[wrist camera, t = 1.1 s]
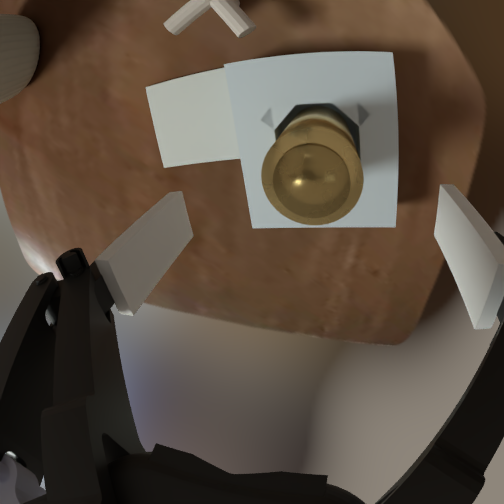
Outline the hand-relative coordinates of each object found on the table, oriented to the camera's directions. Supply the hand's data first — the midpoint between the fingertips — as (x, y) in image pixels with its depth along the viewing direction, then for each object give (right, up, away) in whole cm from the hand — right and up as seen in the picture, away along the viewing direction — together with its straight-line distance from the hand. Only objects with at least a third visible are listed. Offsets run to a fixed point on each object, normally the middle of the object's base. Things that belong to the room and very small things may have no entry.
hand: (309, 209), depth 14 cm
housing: (+4, +10, +14) cm, 17 cm away
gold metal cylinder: (+4, +9, +13) cm, 16 cm away
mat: (-9, +12, +16) cm, 22 cm away
